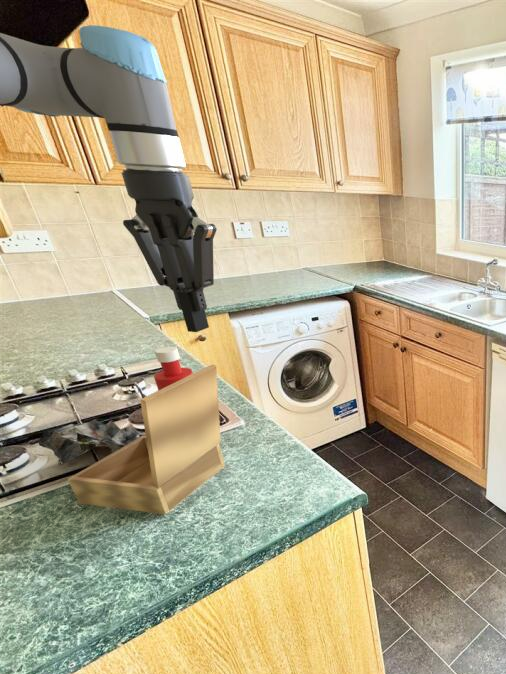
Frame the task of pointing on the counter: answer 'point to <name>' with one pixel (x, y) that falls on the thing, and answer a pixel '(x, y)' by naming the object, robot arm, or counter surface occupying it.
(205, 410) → the chest lid
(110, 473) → the chest
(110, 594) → the counter surface
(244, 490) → the counter surface
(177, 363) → the ketchup bottle
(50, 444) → the foil
